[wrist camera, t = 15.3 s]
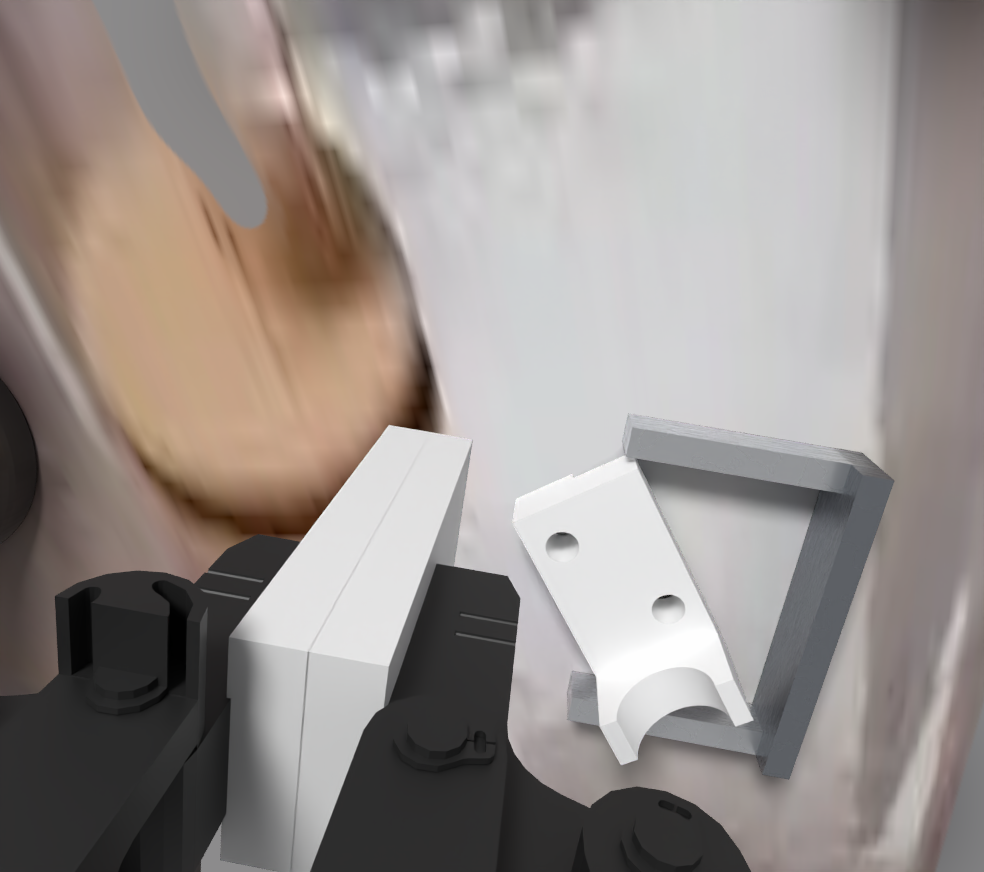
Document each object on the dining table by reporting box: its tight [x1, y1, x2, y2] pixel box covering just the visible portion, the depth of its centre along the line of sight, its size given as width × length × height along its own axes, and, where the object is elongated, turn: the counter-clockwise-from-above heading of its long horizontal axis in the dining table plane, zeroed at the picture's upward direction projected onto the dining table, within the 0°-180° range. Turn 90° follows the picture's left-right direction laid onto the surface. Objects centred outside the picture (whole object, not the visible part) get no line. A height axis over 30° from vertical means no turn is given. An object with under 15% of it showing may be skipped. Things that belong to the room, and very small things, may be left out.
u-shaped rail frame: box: [567, 413, 894, 779], centre depth 40 cm, size 12×18×4 cm
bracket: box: [512, 455, 753, 765], centre depth 39 cm, size 13×7×8 cm, turn 27°
